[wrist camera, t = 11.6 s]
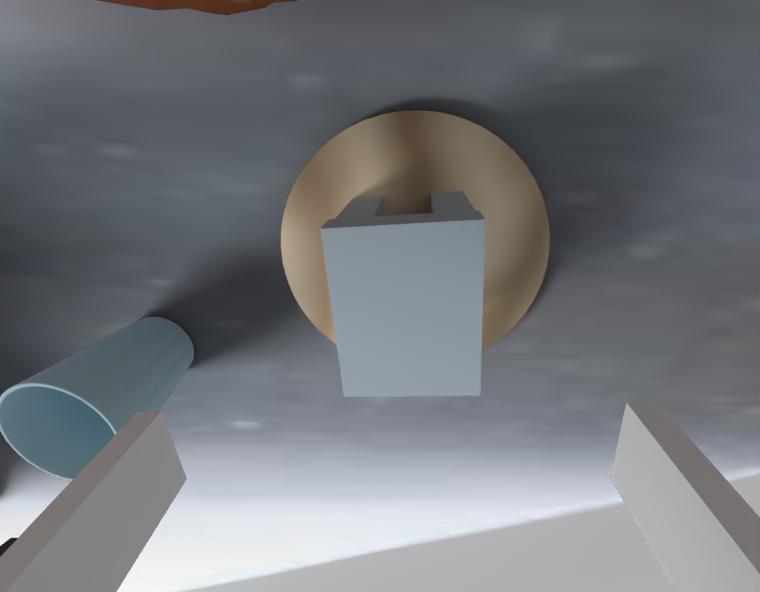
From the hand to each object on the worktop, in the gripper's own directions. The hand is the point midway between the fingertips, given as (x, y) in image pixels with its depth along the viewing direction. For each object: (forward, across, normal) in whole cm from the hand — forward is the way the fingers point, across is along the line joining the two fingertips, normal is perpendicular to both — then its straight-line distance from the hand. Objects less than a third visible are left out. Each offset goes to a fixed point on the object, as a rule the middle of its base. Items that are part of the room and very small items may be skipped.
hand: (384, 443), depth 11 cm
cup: (+18, -20, -7) cm, 28 cm away
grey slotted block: (+17, +1, 0) cm, 17 cm away
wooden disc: (+18, +1, 0) cm, 18 cm away
